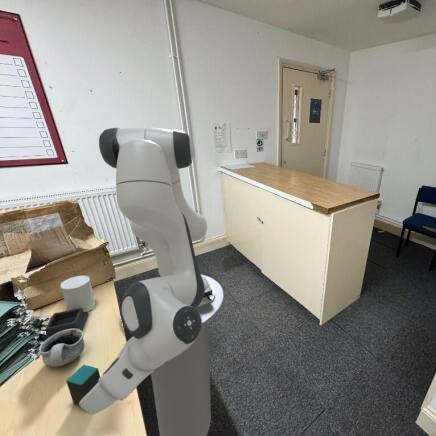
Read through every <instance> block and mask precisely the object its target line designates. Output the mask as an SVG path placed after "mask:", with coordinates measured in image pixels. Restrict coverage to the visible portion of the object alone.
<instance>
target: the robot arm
mask: <svg viewBox="0 0 436 436" xmlns="http://www.w3.org/2000/svg"><path fill="white" fill-rule="evenodd" d="M98 149H99V152H100V155H101V157H102V159H103V161H104V163H106V164H107V165H108V166H109V167H111V168H113V169H116V170H115V191H116V192H115V195H116V201H117V206H118V209H119V211H120V212H121V213H122V215H123V216H124V217H125V218H126V219H128V220H129V221H131V223H130V228H131V231H132V234H133V235H134V236H135V237H136V238H138V239H140V240H141V241H143V242H144V243H145V244H147V245H148V247H149V248H150V249H151V250H152V252H153V253H154V256H155V259H156V263H157V269H158V271H157V277H151V278H148V279H143V280H139V281H135V282H132V283H131V285H129V287H127V289H126V291H125V293H124V294H123V297H122V299H121V301H120V304H119V315H120V319H121V321H122V324H123V326H124V328H125V329H126V331H127V332H128V333H129V334H130V335H131V336H132V337H131V338H129V339H128V340H127V341H126V342H125V343H124V345H123V347H122V349H121V350H120V351H119V353H118V354H117V356H116V357H115V359H114V360H113V362H111V364H110V365H109V367H107V368H106V370H105V371H104V372H103V373H102V375H100V378H99V380H98V381H99V382H98V383H97V384H96V385H95V386H94V387H93V388H92V389H91V391H90V392H89V393H88V394H87V395H86V396H85V397H84V398H83V399H82V400H81V401H80V403H79V405H80V406H79V407H80V408H81V409H82V410H83V411H84V412H86V413H87V414H89V415H91V416H92V415H96V414H98V413H100V412H102V411H103V410H106V409H107V408H109V407H111V406H112V405H114V403H116V402H117V401H118V400H119V401H125V399H127V398H128V397H129V396H130V394H132V393H133V391H134V390H136V388H137V387H138V386H139V385H140V384H141V383H142V382H143V381H144V380H145V379H146V378H148V376H151V373H152V372H154V371H155V369H156V368H158V367H159V366H161V365H163V364H164V363H165V362H166V361H169V360H171V359H173V358H175V357H176V356H178V355H179V354H181V353H182V352H184V351H185V350H186V349H187V348H189V347H190V346H191V345H192V344H193V343H194V341H195V340H196V339H197V337H198V335H199V333H200V330H201V326H202V320H201V316H200V313H199V312H198V311H197V309H195V308H197V307H199V306H202V305H205V304H208V303H210V302H213V301H214V299H215V290H214V288H213V286H212V285H211V284H210V283H209V282H208V281H207V279H206V278H205V277H204V276H202V275H203V274H201V272H200V269H199V266H198V261H197V257H196V253H195V249H194V244H193V242H195V241H201V240H202V239H203V238H204V237H205V235H206V234H207V231H208V222H207V220H206V217H204V216H203V214H201V213H199V212H198V211H196V210H195V209H194V208H192V207H191V206H190V204H189V203H188V202H187V200H186V198H185V195H184V192H183V191H184V190H183V186H182V181H181V173H180V169H181V170H182V169H185V168H188V167H190V166H191V165H192V164H193V161H194V158H195V153H196V152H195V151H196V150H195V145H194V142H193V141H192V139H191V137H190V135H189V134H188V133H187V131H183V130H180V129H168V128H162V127H161V128H159V127H125V128H121V127H110V128H105V129H104V130H103V131H102V132H101V133H100V135H99V136H98Z"/></svg>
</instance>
